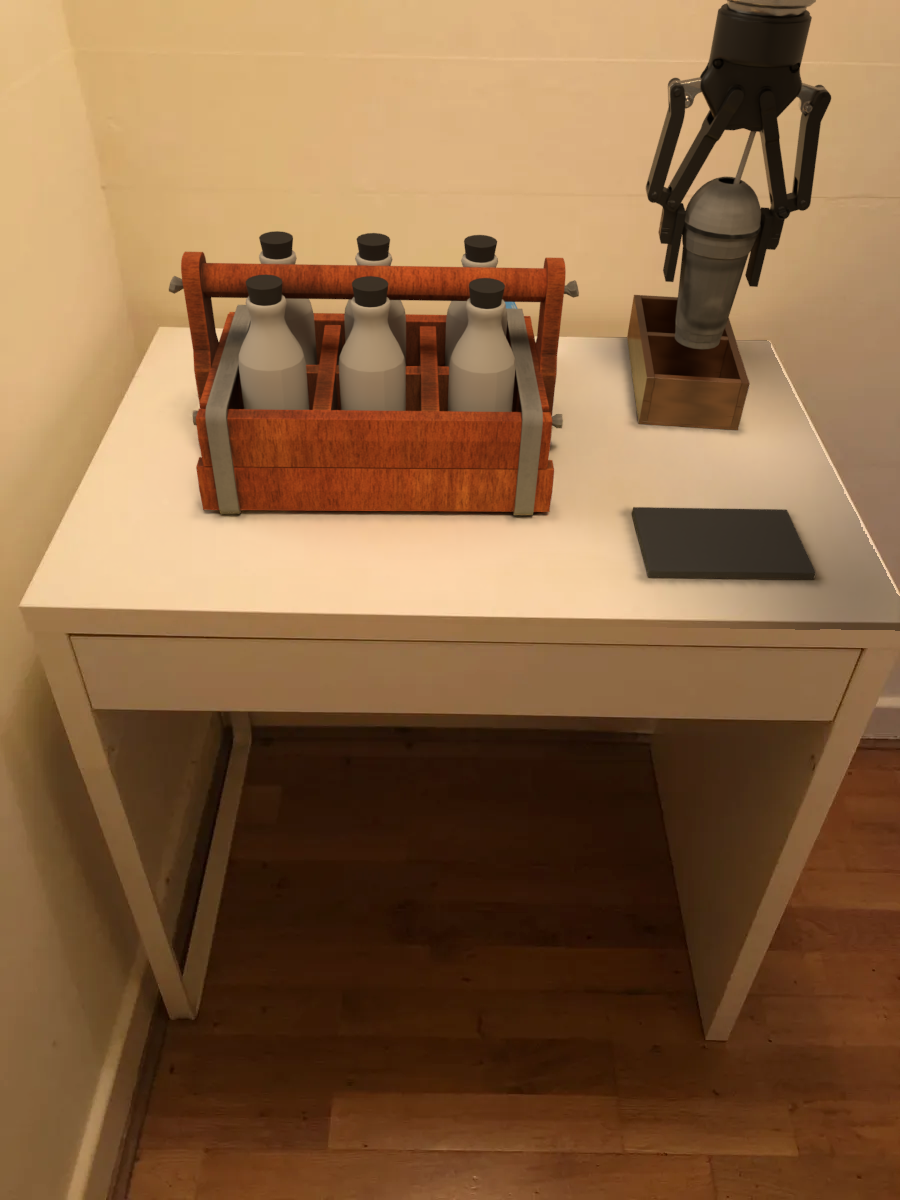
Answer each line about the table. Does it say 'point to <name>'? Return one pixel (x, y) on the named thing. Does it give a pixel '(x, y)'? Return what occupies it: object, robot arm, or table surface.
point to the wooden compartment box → (682, 371)
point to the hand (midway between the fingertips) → (709, 278)
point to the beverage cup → (715, 255)
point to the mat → (721, 544)
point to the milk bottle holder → (374, 382)
